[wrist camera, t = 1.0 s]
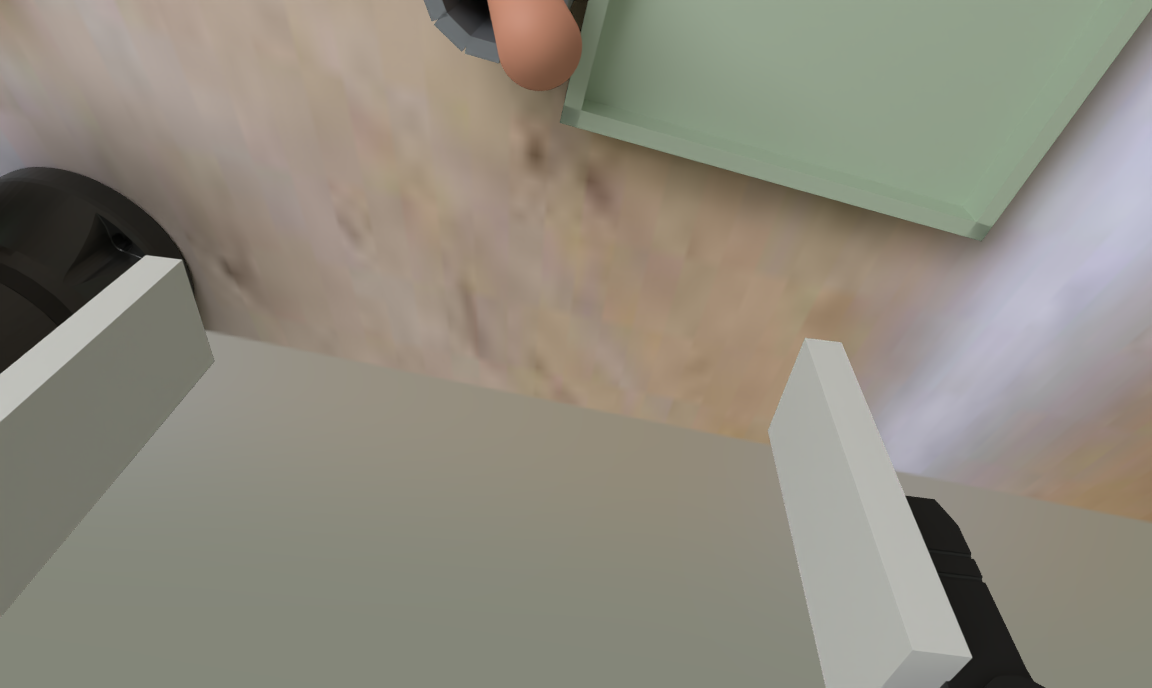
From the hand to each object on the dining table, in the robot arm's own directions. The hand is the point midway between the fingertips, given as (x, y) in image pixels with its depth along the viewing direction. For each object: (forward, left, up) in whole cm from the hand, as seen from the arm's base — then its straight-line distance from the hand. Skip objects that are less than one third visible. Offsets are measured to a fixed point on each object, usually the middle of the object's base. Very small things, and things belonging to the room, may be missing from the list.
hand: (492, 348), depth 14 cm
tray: (+13, +5, -28) cm, 31 cm away
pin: (-4, +3, -28) cm, 28 cm away
